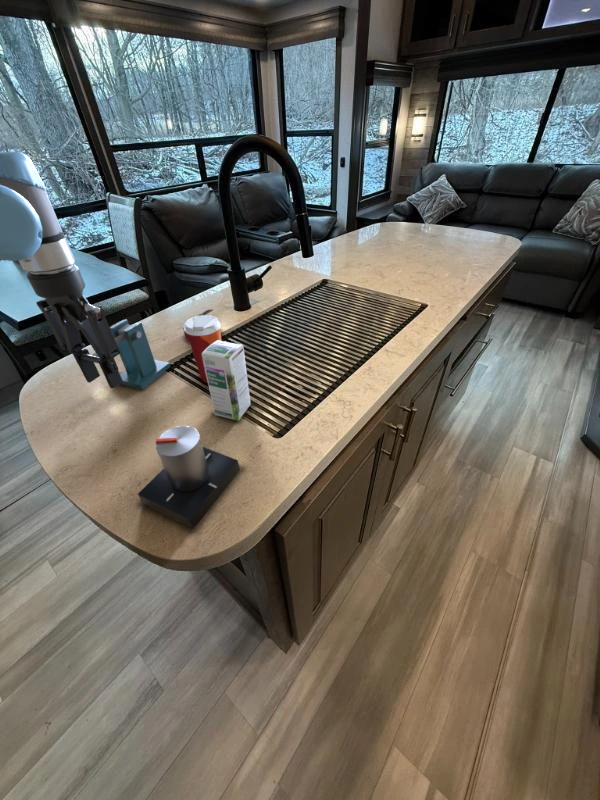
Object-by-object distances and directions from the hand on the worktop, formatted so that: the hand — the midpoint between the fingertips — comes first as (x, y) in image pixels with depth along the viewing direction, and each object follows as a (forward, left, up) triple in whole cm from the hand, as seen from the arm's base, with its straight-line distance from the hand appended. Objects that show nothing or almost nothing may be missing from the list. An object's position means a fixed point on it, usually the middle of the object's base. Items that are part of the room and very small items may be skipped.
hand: (105, 381), depth 69 cm
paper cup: (+22, -1, -5) cm, 22 cm away
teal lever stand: (+7, +7, -4) cm, 11 cm away
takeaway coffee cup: (+24, +21, -5) cm, 32 cm away
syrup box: (+23, -15, -5) cm, 28 cm away
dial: (+12, -31, -2) cm, 33 cm away
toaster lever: (+4, +4, +5) cm, 7 cm away
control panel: (+12, -31, -4) cm, 34 cm away
